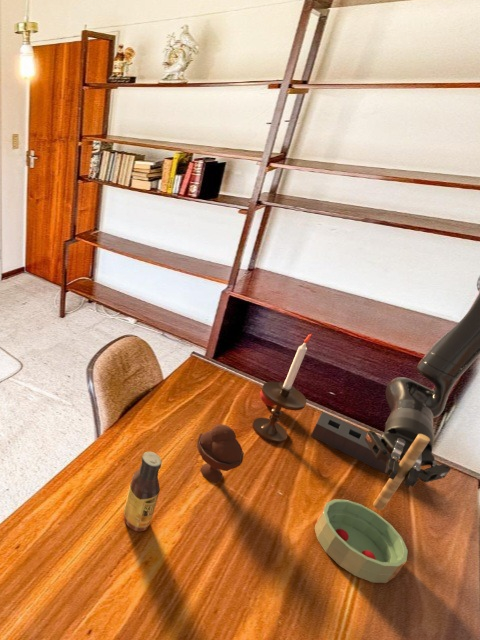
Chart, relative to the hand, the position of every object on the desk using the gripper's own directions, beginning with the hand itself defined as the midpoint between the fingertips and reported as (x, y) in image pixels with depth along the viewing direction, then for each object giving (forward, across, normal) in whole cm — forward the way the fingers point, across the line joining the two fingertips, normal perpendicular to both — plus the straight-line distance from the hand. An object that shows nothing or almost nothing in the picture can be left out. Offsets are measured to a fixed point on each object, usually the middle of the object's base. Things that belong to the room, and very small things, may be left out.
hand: (400, 479), depth 76 cm
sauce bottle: (+27, -37, +26) cm, 52 cm away
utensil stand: (-38, -6, +25) cm, 46 cm away
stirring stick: (-3, 0, +11) cm, 11 cm away
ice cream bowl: (+1, -30, +26) cm, 39 cm away
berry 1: (-3, -2, +23) cm, 24 cm away
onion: (-39, -28, +26) cm, 54 cm away
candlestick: (-27, -24, +26) cm, 44 cm away
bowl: (-3, 0, +25) cm, 25 cm away
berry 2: (-1, +3, +23) cm, 23 cm away
